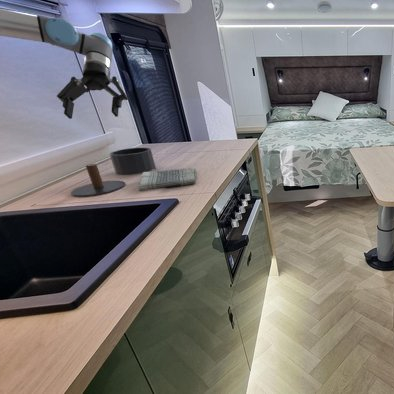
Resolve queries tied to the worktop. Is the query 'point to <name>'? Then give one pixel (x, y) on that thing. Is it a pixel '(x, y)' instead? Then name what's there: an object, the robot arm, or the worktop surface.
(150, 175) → the dish towel
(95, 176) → the pot lid
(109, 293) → the worktop surface
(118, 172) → the pot
